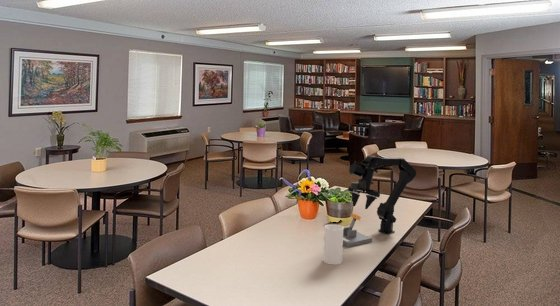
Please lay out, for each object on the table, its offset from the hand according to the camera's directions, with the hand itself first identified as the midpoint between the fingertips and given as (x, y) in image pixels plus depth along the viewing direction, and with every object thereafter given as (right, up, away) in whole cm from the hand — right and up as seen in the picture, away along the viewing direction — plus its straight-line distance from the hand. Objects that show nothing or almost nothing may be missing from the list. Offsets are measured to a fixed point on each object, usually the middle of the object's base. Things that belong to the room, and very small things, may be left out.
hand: (359, 207), depth 226 cm
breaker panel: (-6, -16, -2) cm, 18 cm away
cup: (-18, -20, -31) cm, 42 cm away
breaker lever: (-6, -13, -2) cm, 14 cm away
